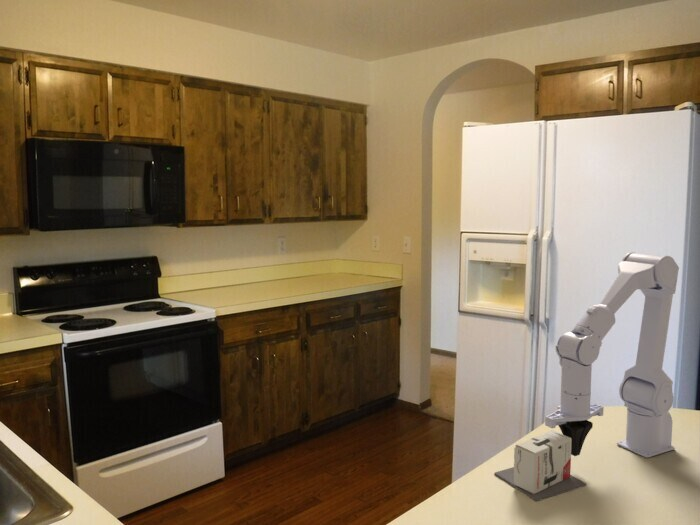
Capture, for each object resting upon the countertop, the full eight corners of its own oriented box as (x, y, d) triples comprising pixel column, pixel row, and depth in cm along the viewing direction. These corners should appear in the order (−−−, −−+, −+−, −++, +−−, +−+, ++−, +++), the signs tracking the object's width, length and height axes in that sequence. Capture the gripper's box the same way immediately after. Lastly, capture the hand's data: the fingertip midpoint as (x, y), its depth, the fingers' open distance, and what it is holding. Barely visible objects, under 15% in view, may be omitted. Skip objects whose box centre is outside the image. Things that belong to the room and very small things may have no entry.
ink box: (571, 477, 119) (533, 495, 112) (550, 468, 123) (512, 485, 116) (572, 437, 118) (534, 453, 111) (551, 429, 122) (513, 444, 115)
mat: (541, 460, 127) (541, 459, 127) (586, 485, 117) (586, 483, 117) (494, 474, 122) (494, 472, 122) (536, 501, 111) (536, 499, 111)
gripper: (585, 379, 128) (583, 439, 130) (534, 390, 122) (533, 453, 123) (612, 389, 122) (610, 452, 123) (560, 401, 115) (558, 467, 117)
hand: (573, 453), depth 123 cm, fingers closed
